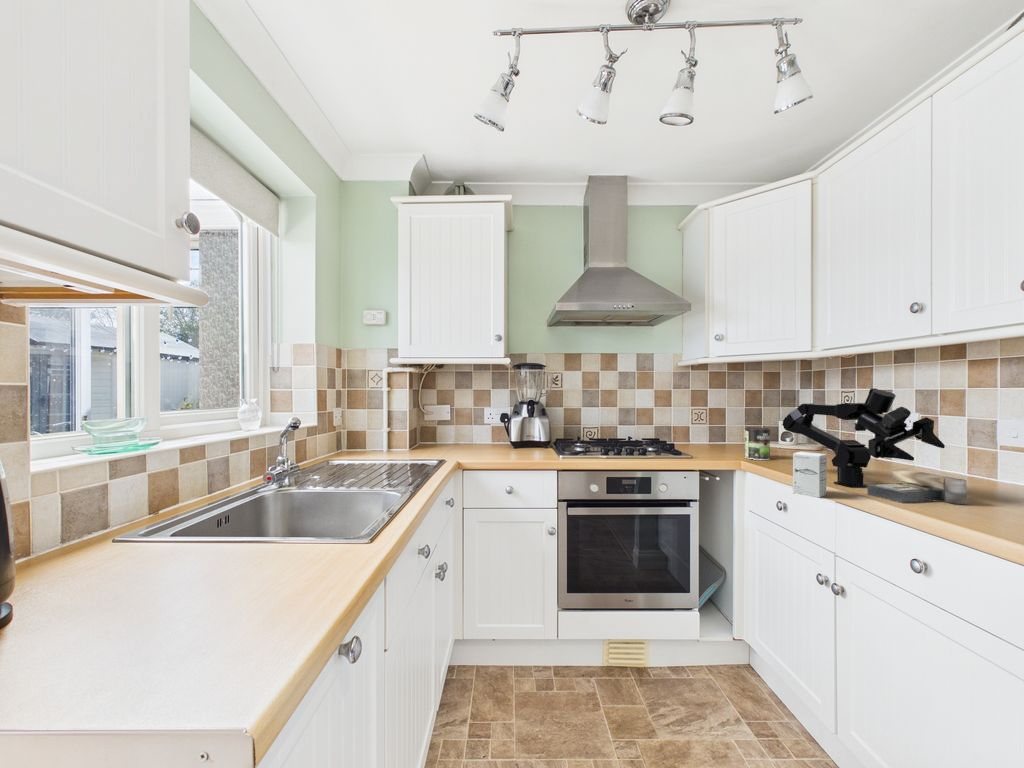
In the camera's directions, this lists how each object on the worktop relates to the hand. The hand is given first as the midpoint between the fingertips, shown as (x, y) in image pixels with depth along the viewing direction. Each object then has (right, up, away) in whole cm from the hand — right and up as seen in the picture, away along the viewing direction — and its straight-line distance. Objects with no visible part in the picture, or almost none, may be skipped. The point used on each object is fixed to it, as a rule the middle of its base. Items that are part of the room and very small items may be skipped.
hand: (928, 453), depth 126 cm
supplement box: (-26, -15, +12) cm, 32 cm away
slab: (+2, -15, +8) cm, 17 cm away
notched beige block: (+7, -14, +8) cm, 18 cm away
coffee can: (-5, -15, +79) cm, 81 cm away
